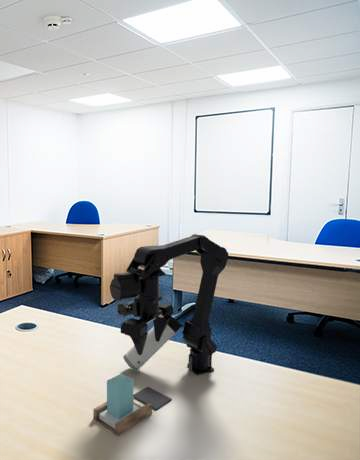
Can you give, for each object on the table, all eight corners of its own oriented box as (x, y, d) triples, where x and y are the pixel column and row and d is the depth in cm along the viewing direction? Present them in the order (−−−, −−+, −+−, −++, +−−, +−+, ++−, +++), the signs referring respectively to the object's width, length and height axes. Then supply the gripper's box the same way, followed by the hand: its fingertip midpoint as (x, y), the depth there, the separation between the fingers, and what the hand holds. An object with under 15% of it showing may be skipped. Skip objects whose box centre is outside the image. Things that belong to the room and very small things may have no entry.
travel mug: (135, 374, 104) (183, 326, 107) (121, 357, 106) (169, 310, 109) (138, 371, 110) (184, 326, 113) (125, 355, 112) (170, 310, 115)
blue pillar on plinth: (124, 403, 91) (124, 369, 90) (140, 413, 87) (140, 378, 86) (99, 418, 85) (99, 382, 84) (115, 429, 81) (115, 391, 80)
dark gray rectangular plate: (147, 387, 99) (147, 386, 99) (171, 400, 94) (171, 398, 94) (132, 396, 95) (132, 395, 95) (156, 410, 89) (156, 408, 89)
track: (127, 398, 94) (127, 390, 93) (152, 413, 88) (152, 403, 88) (93, 418, 85) (93, 408, 85) (118, 435, 79) (118, 425, 79)
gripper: (142, 281, 107) (143, 330, 109) (102, 298, 91) (104, 355, 93) (174, 286, 102) (174, 337, 104) (138, 305, 86) (139, 365, 88)
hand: (149, 347), depth 97 cm, fingers open, 9 cm apart
